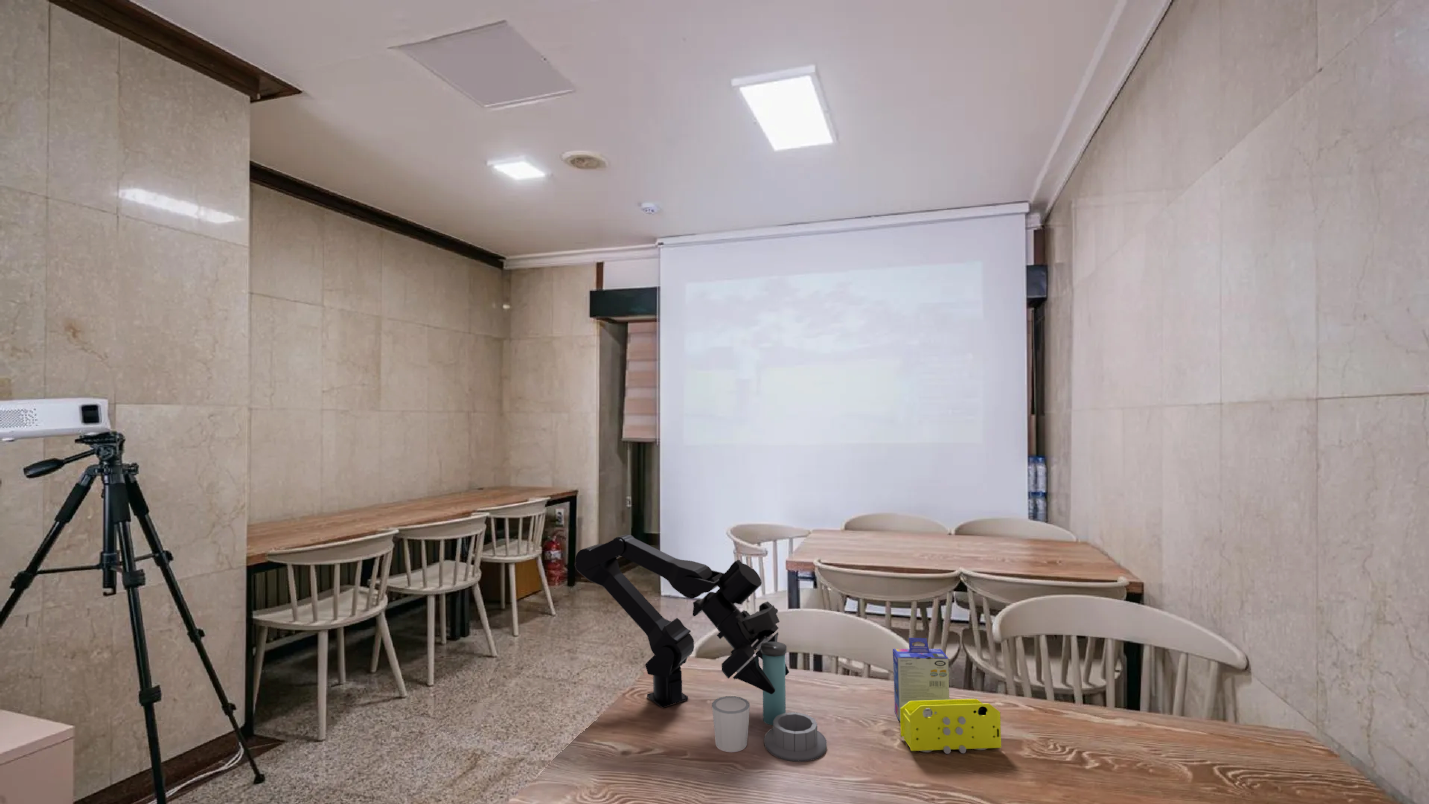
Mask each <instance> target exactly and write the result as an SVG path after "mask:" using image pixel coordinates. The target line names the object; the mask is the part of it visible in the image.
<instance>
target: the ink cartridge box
mask: <svg viewBox="0 0 1429 804" xmlns="http://www.w3.org/2000/svg"><path fill="white" fill-rule="evenodd" d="M918 642H919V643H923V644H924V645H922V646H921V645H913V643H918ZM908 647H909V648H892V660H893V661H892V662H893V664H892V665H893V690H894V691H893V693H894V694H893V695H894V699H893V700H894V709H893V710H894V712H895V715H896V718H897V720H898V722H900V708H901V707H903V706H904V705H905V704H907V703H908V702H909V701H919V700H950V680H949V677H950V675H949V674H950V672H949V671H950V670H949V669H950V668H949V665H950V664H949V657H948V656H947V655H946V654H945V652H944V651H943V650H942V649H941V648H929V643H928V638H926V637H924V638H923V637H908Z"/></svg>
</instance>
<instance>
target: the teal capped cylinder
mask: <svg viewBox="0 0 1429 804" xmlns="http://www.w3.org/2000/svg"><path fill="white" fill-rule="evenodd" d="M787 650H788V648H787V644H785V643H783V642H780V641H777V642H765V643H763V644H761V653H762V659H761V661H762V665H761V666H762V667H761V669H762V670H763V671H764V673H765V674H766V676H767V677H768V679H769V680H770V682H771V683H772V685H773V687H774V688H775V692H774V693H773V694H769V693H767V692H765V691H763V690H762V720H763V722H764V723H765V724H767V725H769V726H773V720H774V719H775V718H776V716H778V715H780V714H783V713H787V710H786V709H787V707H786V706H787V701H786V698H787V697H786V676H785V664H786V654H787Z"/></svg>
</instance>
